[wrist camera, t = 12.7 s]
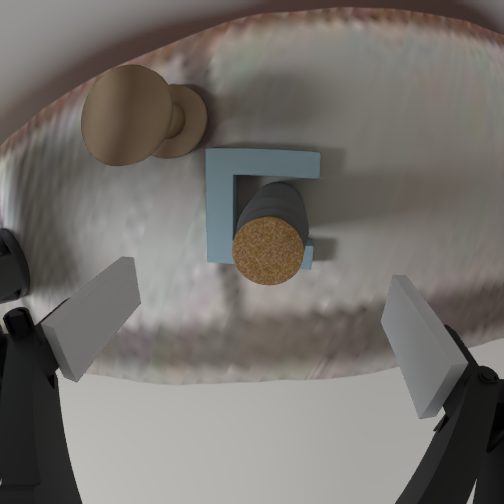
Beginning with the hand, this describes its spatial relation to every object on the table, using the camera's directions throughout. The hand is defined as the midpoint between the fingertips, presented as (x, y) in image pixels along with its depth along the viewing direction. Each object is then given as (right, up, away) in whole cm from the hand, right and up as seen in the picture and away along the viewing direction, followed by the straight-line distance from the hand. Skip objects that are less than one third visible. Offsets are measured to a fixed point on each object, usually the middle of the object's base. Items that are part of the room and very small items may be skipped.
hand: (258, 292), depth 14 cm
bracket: (+1, +7, +19) cm, 20 cm away
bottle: (+3, +7, +19) cm, 20 cm away
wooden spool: (-10, +17, +17) cm, 26 cm away
